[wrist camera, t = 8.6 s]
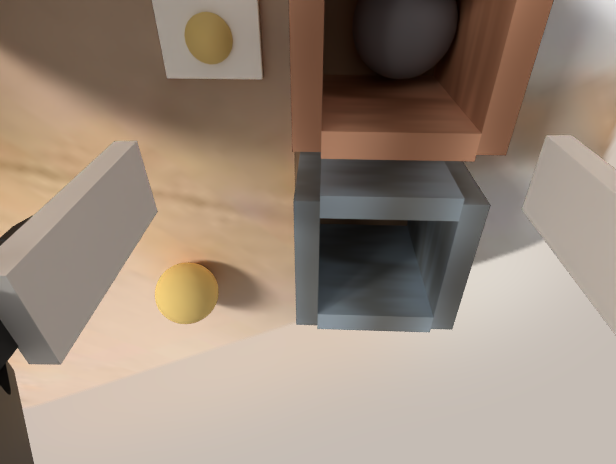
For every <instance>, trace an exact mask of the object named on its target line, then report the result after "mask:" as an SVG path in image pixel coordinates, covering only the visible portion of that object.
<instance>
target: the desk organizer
mask: <svg viewBox="0 0 616 464" xmlns="http://www.w3.org/2000/svg"><path fill="white" fill-rule="evenodd" d="M553 1H554V0H456V3H457V9H458V21H457V28H456V32H455V36H454V39H453V41H452V43H451V45H450V47H449V49H448V51H447V52H446V54H445V55H444V56H443V58H442V59H441V60H440V61H439V62H438V63H437V64H436V65H435V66H434V67H432V68H431V69H430V70H428V71H426V72H425V73H423V74H421V75H419V76H416V77H413V78H409V79H390V78H386V77H383V76H381V75H379V74H377V73H375V72H374V71H372V70H371V69H370V68H369V67H368V66H367V65H366V64H365V63H364V62H363V60H362V59H361V57H360V56H359V54H358V52H357V50H356V47H355V44H354V39H353V32H352V24H353V16H354V11H355V8H356V5H357V3H358V0H289V32H290V74H291V116H292V152H294V155H295V194H294V242H295V284H296V324H297V325H317V328H318V329H343V330H374V331H405V332H430V329H452V328H453V325H454V322H455V318H456V315H457V312H458V309H459V305H460V302H461V299H462V295H463V292H464V289H465V286H466V283H467V279H468V276H469V273H470V270H471V266H472V263H473V260H474V257H475V253H476V250H477V247H478V244H479V240H480V237H481V234H482V231H483V227H484V224H485V221H486V218H487V215H488V211H489V208H490V204H489V202H488V201H487V199H486V197H485V196H484V194H483V193H482V191H481V190H480V188H479V186H478V185H477V183H476V182H475V180H474V179H473V177H472V175H471V174H470V172H469V171H468V169H467V168H466V166H465V164H464V163H463V161H475V158H476V155H506V153H507V150H508V146H509V143H510V140H511V137H512V133H513V130H514V127H515V124H516V121H517V117H518V114H519V111H520V108H521V104H522V101H523V98H524V95H525V91H526V88H527V85H528V82H529V78H530V75H531V72H532V69H533V65H534V62H535V59H536V56H537V52H538V49H539V46H540V43H541V39H542V36H543V33H544V30H545V26H546V23H547V20H548V17H549V14H550V10H551V7H552V4H553Z"/></svg>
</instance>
